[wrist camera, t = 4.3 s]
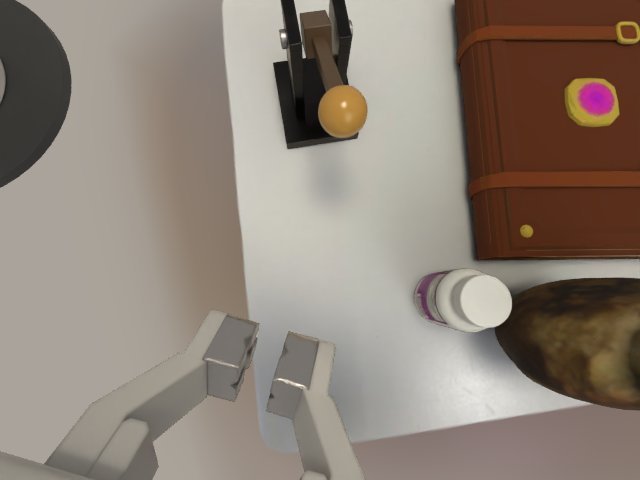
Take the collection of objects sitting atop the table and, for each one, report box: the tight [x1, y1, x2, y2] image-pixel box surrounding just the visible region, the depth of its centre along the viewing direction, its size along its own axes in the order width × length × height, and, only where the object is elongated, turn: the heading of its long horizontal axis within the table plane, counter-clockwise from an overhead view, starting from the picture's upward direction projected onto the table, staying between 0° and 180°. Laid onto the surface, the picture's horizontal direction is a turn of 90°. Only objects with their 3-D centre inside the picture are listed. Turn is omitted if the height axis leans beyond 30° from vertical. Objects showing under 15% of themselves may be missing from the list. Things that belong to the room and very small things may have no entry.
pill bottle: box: [414, 269, 512, 332], centre depth 29 cm, size 5×5×10 cm
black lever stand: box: [273, 0, 359, 149], centre depth 31 cm, size 10×8×12 cm
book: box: [455, 0, 640, 260], centre depth 34 cm, size 23×32×5 cm
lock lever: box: [300, 10, 367, 138], centre depth 24 cm, size 14×3×3 cm, turn 10°
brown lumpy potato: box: [495, 278, 640, 410], centre depth 23 cm, size 13×8×20 cm, turn 96°
